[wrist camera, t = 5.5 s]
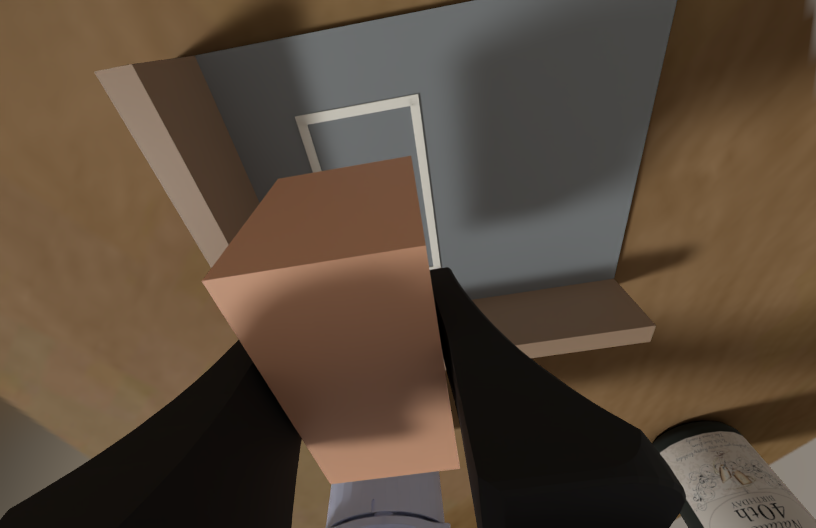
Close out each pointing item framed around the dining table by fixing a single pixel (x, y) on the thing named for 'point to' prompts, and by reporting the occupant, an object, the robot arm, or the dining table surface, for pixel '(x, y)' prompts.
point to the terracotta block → (344, 319)
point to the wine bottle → (728, 480)
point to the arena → (437, 143)
